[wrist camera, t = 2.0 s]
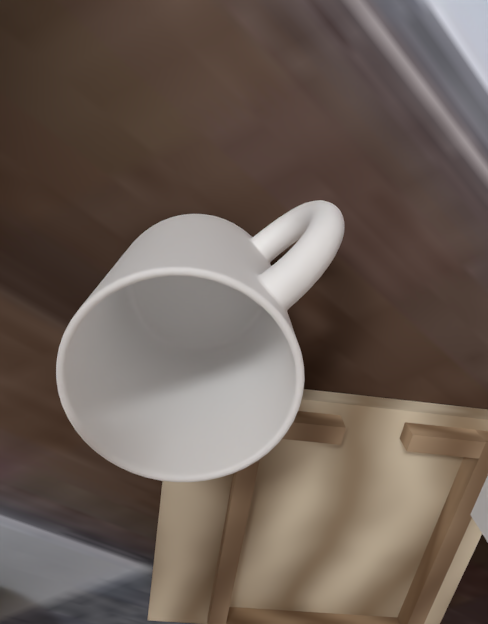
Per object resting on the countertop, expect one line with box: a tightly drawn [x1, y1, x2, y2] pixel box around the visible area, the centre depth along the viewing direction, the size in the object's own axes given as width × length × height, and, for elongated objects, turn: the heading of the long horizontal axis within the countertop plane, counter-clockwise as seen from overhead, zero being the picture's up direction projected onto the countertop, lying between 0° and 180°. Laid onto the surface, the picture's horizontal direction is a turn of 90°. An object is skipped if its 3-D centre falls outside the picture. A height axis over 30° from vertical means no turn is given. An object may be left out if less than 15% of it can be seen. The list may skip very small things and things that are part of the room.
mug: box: [56, 200, 344, 482], centre depth 19 cm, size 12×8×10 cm
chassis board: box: [148, 389, 488, 624], centre depth 30 cm, size 22×20×2 cm
